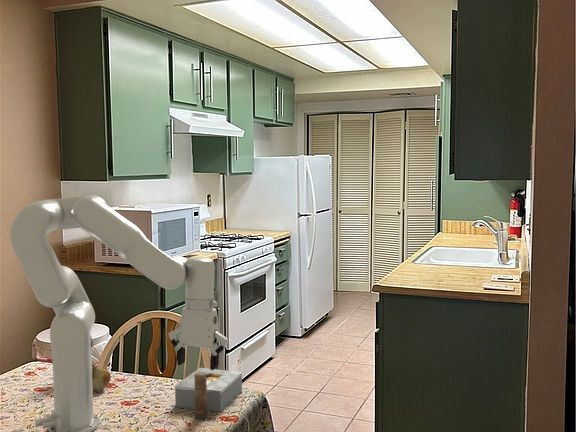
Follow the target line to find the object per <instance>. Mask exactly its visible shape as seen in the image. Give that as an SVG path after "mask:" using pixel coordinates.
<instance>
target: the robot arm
mask: <svg viewBox="0 0 576 432" xmlns="http://www.w3.org/2000/svg"><path fill="white" fill-rule="evenodd" d="M70 229H82V230H83V231H84V232H86V233H88V234H89V235H90V236H92V237H93V238H94V239H96V240H97V241H98V242H101V244H103V245H105V246H106V247H107V248H109V249H111V250H112V251H113V252H115V253H116V254H117V255H118V256H120V258H121V259H123V260H124V261H125V262H127V263H128V264H129V265H131V267H133V268H134V269H135V270H137V272H139V273H140V274H141V275H143V276H144V277H146V278H147V279H149V280H150V281H152V282H153V283H154V284H155V285H158V286H159V287H161V288H162V289H165V290H175V289H178V288H179V287H181V286H182V285H183V283H185V294H184V295H185V296H184V307H182V310H181V315H180V319H179V327H178V328H176V329H174V330H171V331H170V332H168V338H169V339H170V343H171V345H173V347H174V349H175V351H176V361H177V366H182V365H183V364H185V362H186V348H185V346H191V347H196V348H207V349H208V351H210V352H211V355H210V361H209V362H210V364H209V369H210V370H214V369H217V367H218V366H219V365H220V364H219V362H220V361H219V360H220V353H222V352H223V350H225V349H226V346H227V345H228V344H229V338H227V336H225V335H223V334H222V333H220V332H219V331H220V329H219V318H218V311H217V309H216V308H214V307H218V305H219V301H216V300H215V297H214V293H215V289H214V288H215V261H214V260H213V259H212V258H209V257H202V256H198V257H195V256H194V257H184V256H179V255H168V254H166V253H165V252H163V251H162V250H161V249H159V248H158V247H157V246H155V244H154V243H152V242H151V241H150V240H149V239H148V238H147V237H146V235H145V234H144V233H143V232H142V230H141V229H140V228H139V227H138V226H137V225H136V224H134V223H133V222H131V221H130V220H128V219H126V218H125V217H124V216H122V215H121V214H120V213H118V212H117V211H115V210H114V209H113V208H111V207H110V206H109V205H108V203H107V202H106V201H105V200H104V199H103V198H102V197H100V196H98V195H95V194H94V195H93V194H89V195H83V196H73V197H63V198H52V199H51V198H49V199H43V200H37V201H33V202H30V203H29V204H27V205H25V206H24V207H23V208H22V209H21V210H20V211H19V212H18V213H17V215H16V216H15V217H14V219H13V221H12V223H11V226H10V230H9V231H10V232H9V238H10V239H9V240H10V245H11V248H12V250H13V252H14V255H15V257H16V258H17V260H18V262H19V265H20V266H21V268H22V271H23V273H24V275H25V278H26V279H27V281H28V284H29V286H30V287H31V289H32V291H33V293H34V296H35V298H36V300H37V301H38V303H40V304H41V305H42V306H43V307H47V308H52V310H53V312H54V314H55V316H54V317H53V319H52V321H51V324H50V329H49V339H50V348H51V358H52V378H53V379H52V380H53V410H51V411H50V412H51V413H50V414H49V415H47V416H46V417H41V418H40V417H39V418H36V419H34V427H35V428H38V427H41V428H42V429H47V428H48V432H94V430H96V429H97V428H98V427H99V426H100V424H101V421H100V420H101V419H100V417H99V416H98V415H96V414H94V398H93V397H94V395H93V394H94V393H93V392H94V391H93V386H92V365H93V359H92V349H91V343H90V335H91V331H92V328H93V327H94V324H95V321H96V313H95V310H94V307H93V305H92V303H91V300H90V299H89V296H88V295H87V293H86V290H85V289H84V287H83V284H82V282H81V281H80V279H79V277H78V275H77V274H76V273H75V271H74V270H72V269H71V268H70V267H68V266H65V265H61V262H60V261H59V259H58V257H57V255H56V252H55V250H54V248H53V247H52V245H51V244H50V243H49V240H48V235H49V234H50V233H52V232H54V231H61V230H70ZM177 335H178V338H177ZM219 341H220V342H221V343H220V345H218V343H219Z"/></svg>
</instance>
